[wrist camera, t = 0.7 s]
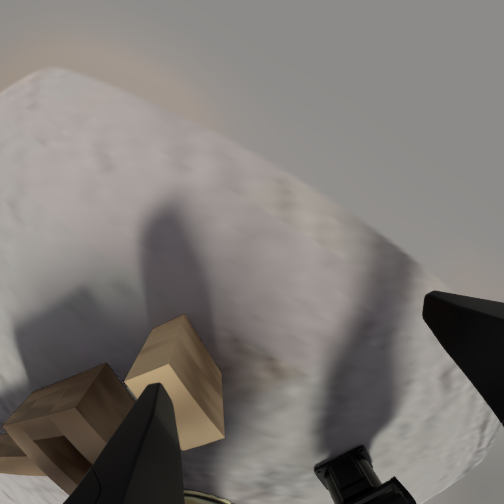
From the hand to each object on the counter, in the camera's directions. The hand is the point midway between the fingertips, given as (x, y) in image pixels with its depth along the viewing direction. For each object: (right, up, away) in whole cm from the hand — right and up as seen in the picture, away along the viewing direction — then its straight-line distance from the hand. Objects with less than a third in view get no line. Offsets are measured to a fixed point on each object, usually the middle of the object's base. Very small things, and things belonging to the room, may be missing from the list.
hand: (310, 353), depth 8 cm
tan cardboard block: (-7, -5, +13) cm, 16 cm away
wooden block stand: (-27, -19, +13) cm, 35 cm away
